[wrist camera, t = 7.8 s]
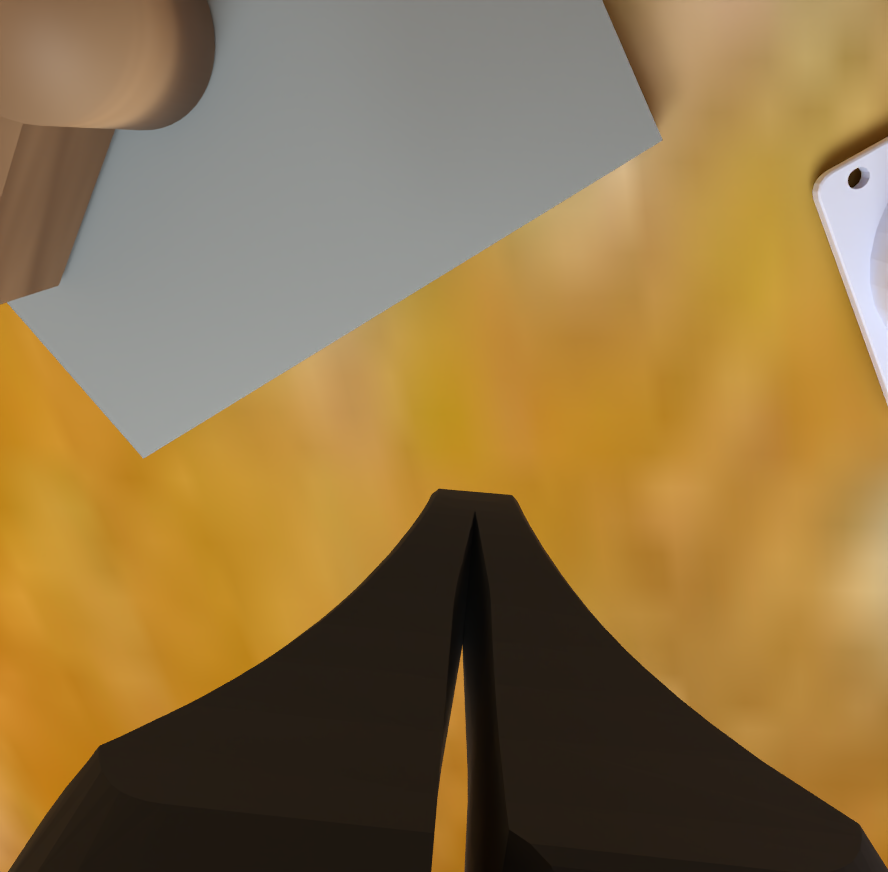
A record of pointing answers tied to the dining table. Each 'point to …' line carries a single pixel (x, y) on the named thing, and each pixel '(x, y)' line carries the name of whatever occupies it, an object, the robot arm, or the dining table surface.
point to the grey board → (325, 188)
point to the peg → (82, 111)
